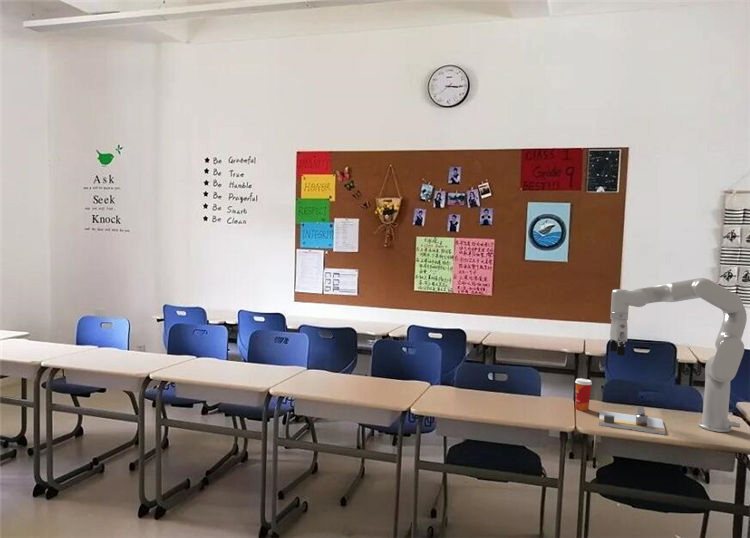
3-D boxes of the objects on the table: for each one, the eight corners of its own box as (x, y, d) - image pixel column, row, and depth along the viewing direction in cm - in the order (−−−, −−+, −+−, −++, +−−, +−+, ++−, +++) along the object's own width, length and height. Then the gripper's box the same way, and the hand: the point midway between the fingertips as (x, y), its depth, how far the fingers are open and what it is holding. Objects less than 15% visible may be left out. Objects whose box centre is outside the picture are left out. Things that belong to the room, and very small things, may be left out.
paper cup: (575, 406, 284) (577, 377, 284) (591, 409, 280) (593, 380, 280) (571, 409, 278) (573, 380, 277) (588, 412, 274) (590, 383, 273)
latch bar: (647, 426, 251) (648, 415, 250) (635, 424, 252) (636, 413, 252) (645, 415, 267) (646, 405, 267) (634, 413, 269) (635, 403, 269)
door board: (661, 421, 264) (662, 412, 264) (665, 434, 246) (665, 425, 246) (599, 413, 274) (600, 404, 274) (598, 424, 256) (599, 415, 255)
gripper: (634, 319, 262) (632, 357, 263) (621, 314, 279) (618, 350, 280) (617, 318, 262) (614, 356, 263) (604, 313, 280) (602, 349, 280)
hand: (616, 353), depth 272 cm, fingers open, 9 cm apart
